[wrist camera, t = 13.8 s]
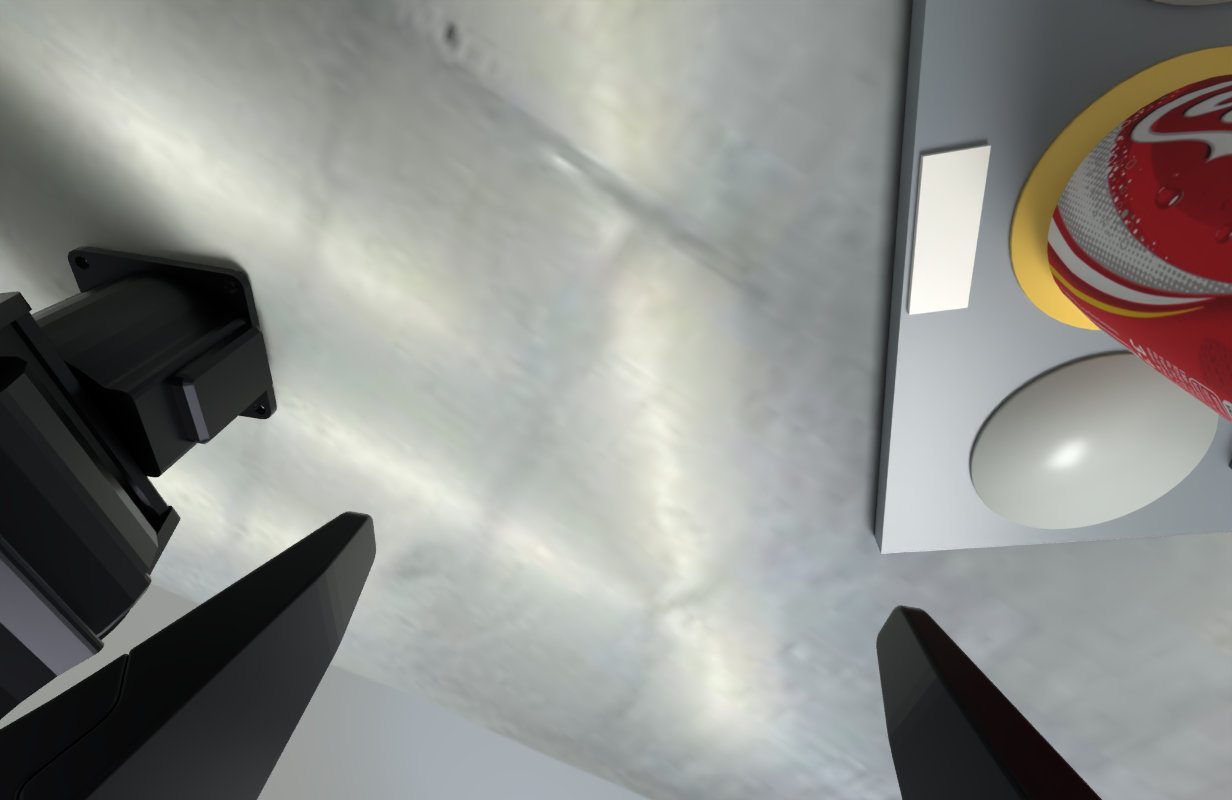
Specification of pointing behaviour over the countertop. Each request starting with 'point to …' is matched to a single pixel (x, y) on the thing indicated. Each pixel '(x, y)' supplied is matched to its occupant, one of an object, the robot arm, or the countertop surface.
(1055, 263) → the soda can
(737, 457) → the countertop surface
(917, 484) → the control panel
